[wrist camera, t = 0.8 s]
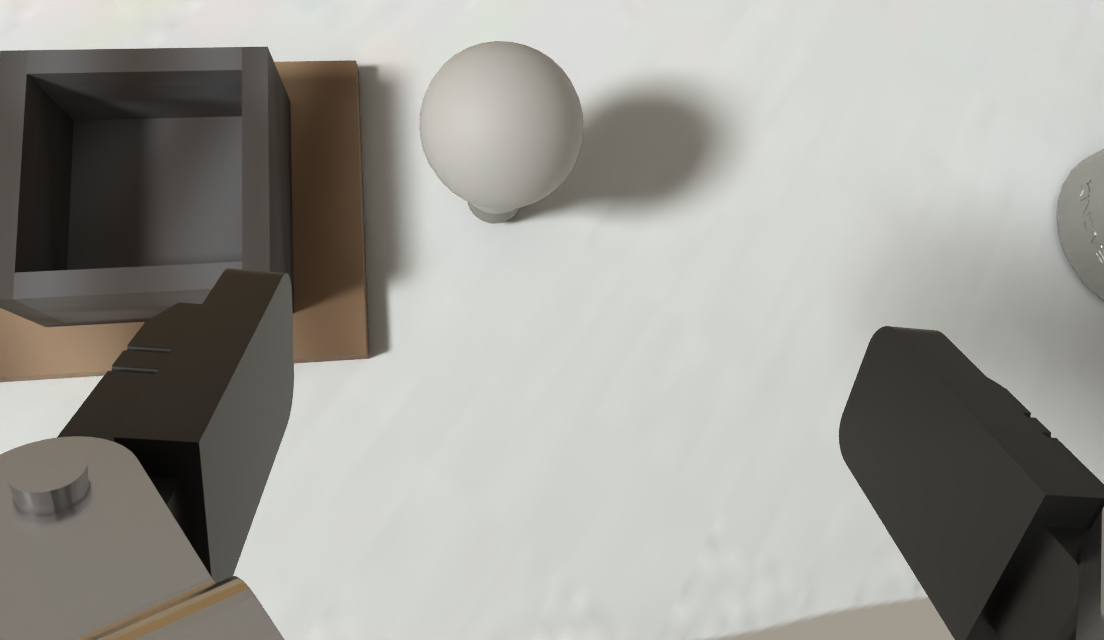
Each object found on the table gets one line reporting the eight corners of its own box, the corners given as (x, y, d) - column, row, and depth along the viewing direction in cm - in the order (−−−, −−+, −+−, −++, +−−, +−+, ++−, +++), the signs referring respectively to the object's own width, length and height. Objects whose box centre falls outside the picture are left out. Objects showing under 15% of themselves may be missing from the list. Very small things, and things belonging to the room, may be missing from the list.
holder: (358, 71, 38) (341, 2, 33) (369, 358, 35) (352, 332, 30) (-1, 78, 36) (-80, 5, 31) (-22, 383, 33) (-114, 360, 28)
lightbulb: (574, 246, 38) (620, 144, 27) (449, 281, 37) (444, 190, 26) (535, 130, 39) (563, -11, 28) (412, 161, 38) (393, 26, 27)
